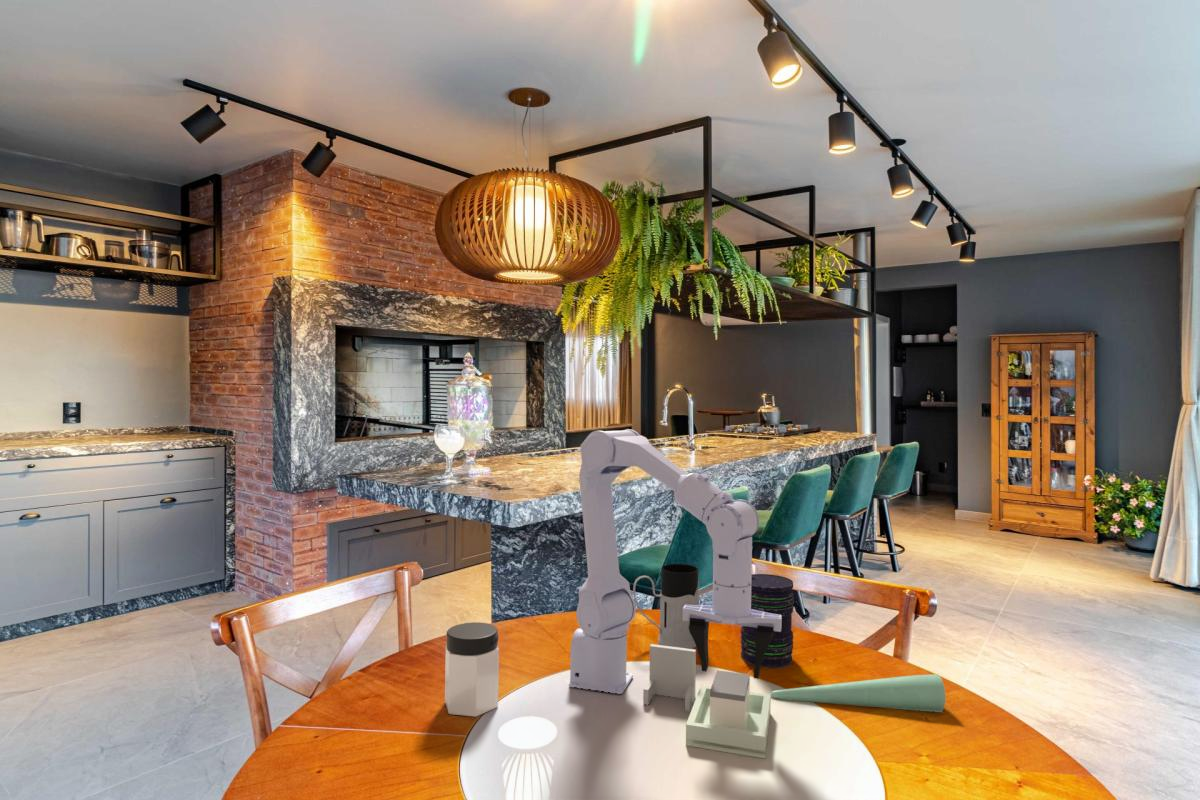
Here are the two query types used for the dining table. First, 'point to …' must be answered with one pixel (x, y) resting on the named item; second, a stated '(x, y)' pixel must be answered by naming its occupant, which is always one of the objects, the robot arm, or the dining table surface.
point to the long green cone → (876, 693)
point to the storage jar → (775, 599)
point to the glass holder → (675, 603)
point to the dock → (671, 674)
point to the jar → (471, 669)
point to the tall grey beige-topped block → (730, 700)
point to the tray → (730, 738)
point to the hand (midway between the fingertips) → (730, 672)
